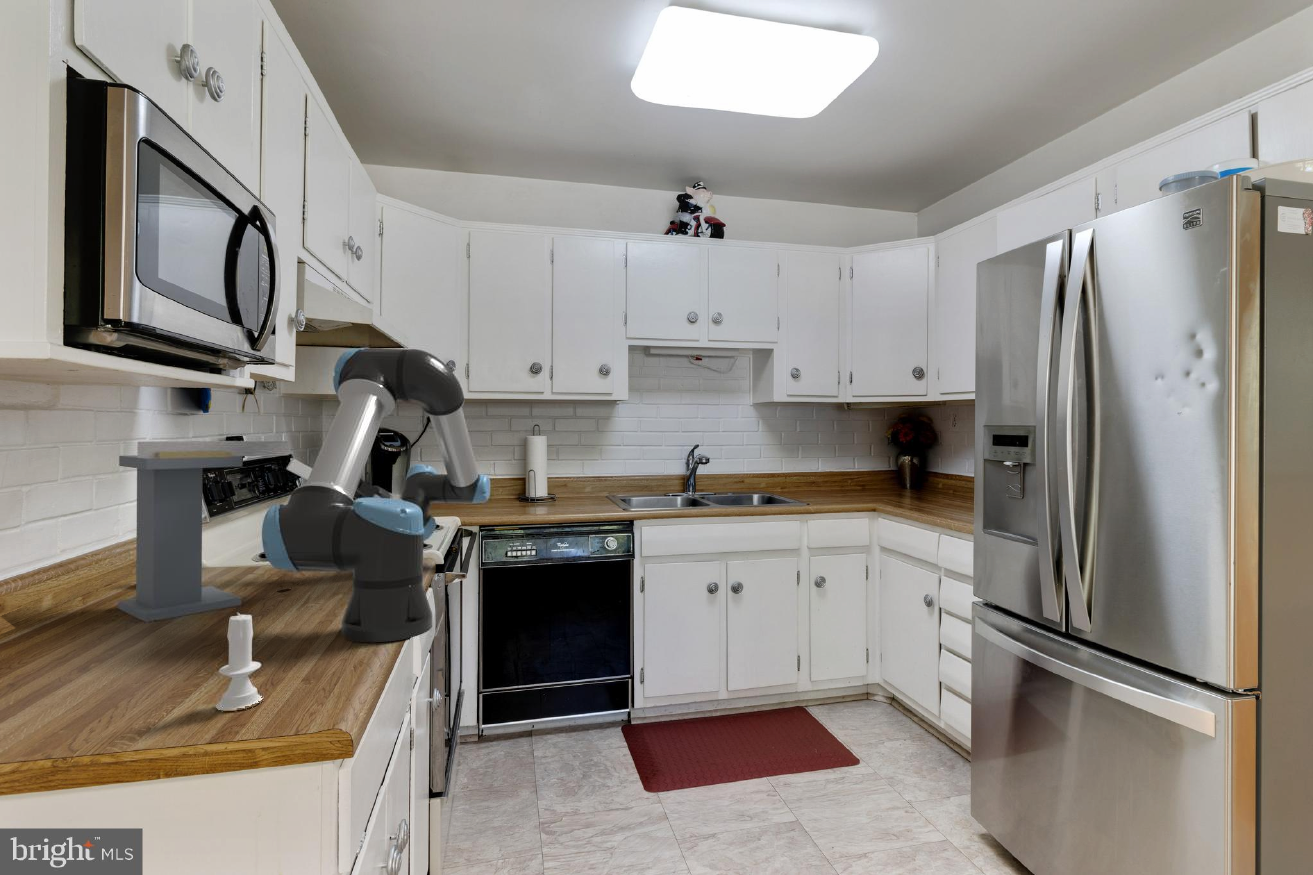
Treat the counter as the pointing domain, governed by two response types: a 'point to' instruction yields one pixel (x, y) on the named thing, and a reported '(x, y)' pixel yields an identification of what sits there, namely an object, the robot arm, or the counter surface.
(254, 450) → the rod
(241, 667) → the candle
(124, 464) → the stand
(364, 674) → the counter surface
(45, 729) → the counter surface
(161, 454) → the bracket
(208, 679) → the counter surface
